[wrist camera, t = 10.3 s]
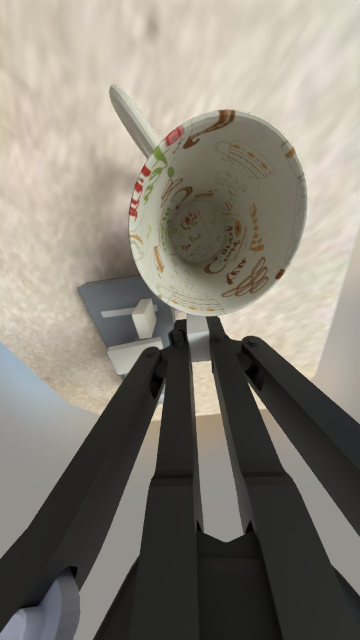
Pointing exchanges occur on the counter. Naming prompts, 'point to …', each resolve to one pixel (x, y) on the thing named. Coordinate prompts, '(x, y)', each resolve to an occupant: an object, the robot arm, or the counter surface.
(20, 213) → the counter surface
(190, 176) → the mug
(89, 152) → the counter surface
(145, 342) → the plate
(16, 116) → the counter surface
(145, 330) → the slider
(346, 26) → the counter surface
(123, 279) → the panel
